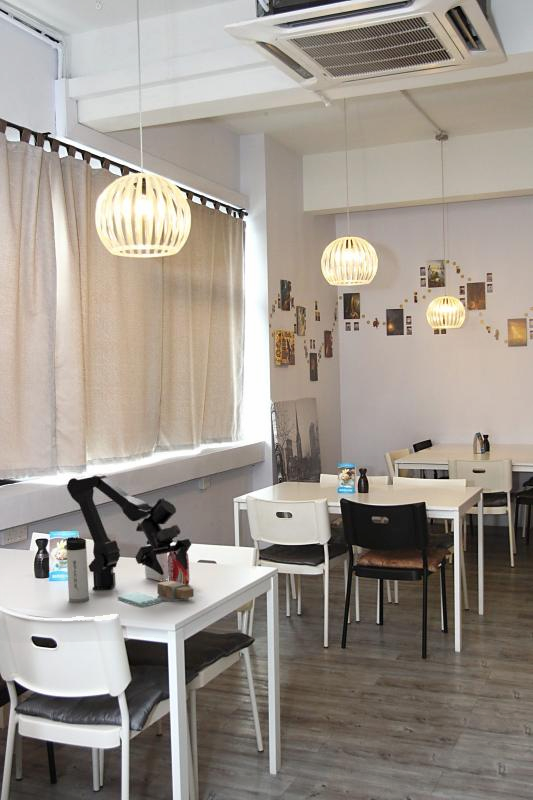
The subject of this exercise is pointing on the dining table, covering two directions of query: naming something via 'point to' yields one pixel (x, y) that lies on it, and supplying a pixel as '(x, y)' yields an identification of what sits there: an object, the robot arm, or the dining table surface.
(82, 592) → the travel mug
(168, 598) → the coaster
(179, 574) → the soda can
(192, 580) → the dining table surface
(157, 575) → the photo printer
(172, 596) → the stub
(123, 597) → the board
